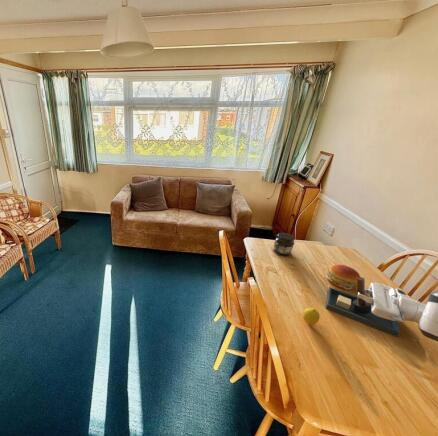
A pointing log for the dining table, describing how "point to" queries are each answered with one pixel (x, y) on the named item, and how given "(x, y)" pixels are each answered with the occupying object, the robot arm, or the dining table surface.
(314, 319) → the lemon
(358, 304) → the brush
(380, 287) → the robot arm
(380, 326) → the tray
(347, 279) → the burger
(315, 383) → the dining table surface
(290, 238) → the supplement container
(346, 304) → the cream block
